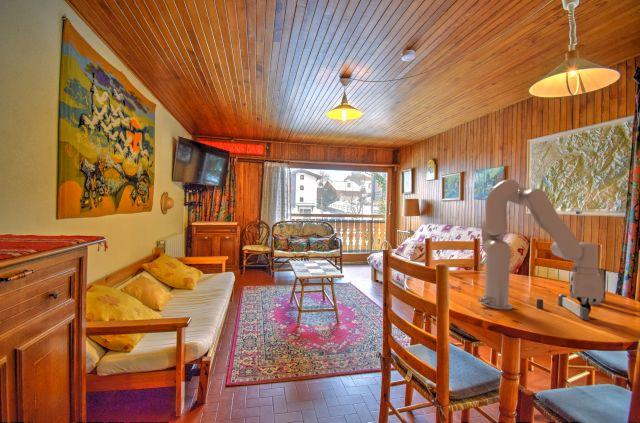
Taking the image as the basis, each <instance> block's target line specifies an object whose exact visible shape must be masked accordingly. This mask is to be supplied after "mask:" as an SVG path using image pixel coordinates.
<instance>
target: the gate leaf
mask: <svg viewBox="0 0 640 423" xmlns="http://www.w3.org/2000/svg"><path fill="white" fill-rule="evenodd" d="M561 307H564V308H565V309H567V310H568V311H570V312H572V314H574V315H576V316H577V317H579V318H580V319H581V320H587V321H588V320H589V315H590V314H589V309H588V308H585V307H582V306H580V304H578V303H576V301H573V300H572V299H569V298H568V297H567V298H566V297H563V304H562V306H561Z"/></svg>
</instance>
